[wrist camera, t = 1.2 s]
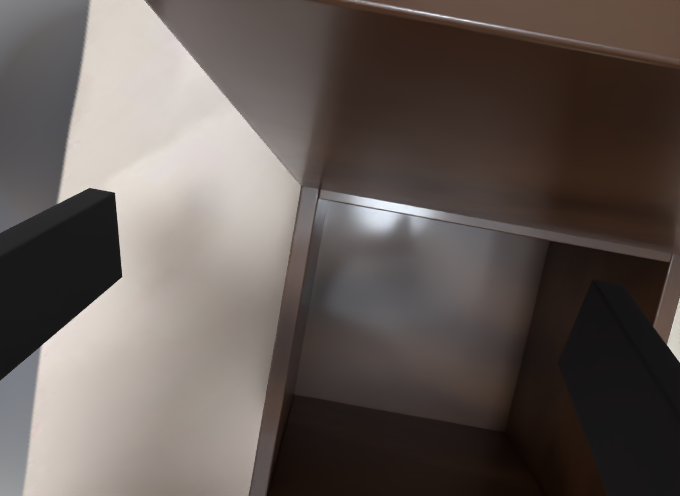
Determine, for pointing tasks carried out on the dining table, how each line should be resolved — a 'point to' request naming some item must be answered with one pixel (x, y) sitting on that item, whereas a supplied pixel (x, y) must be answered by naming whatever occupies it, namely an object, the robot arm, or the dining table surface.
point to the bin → (435, 353)
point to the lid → (463, 103)
